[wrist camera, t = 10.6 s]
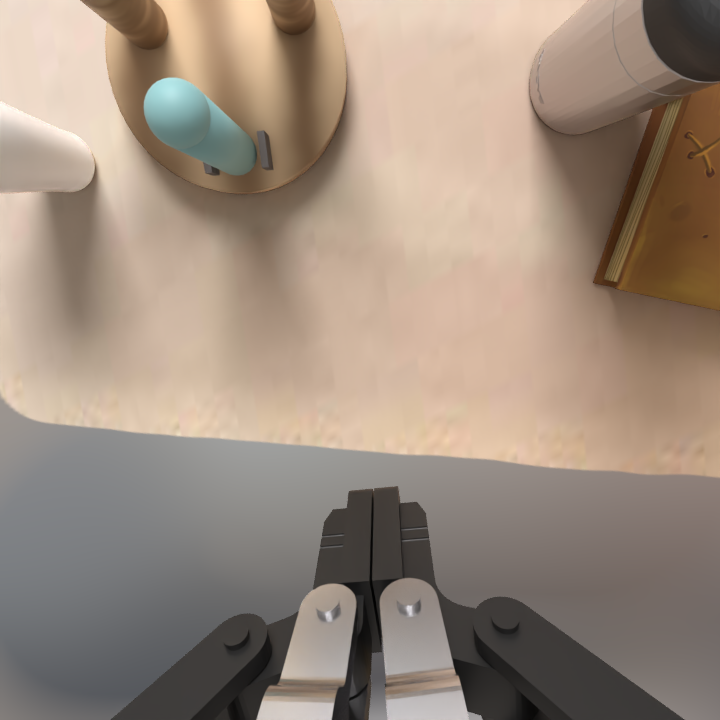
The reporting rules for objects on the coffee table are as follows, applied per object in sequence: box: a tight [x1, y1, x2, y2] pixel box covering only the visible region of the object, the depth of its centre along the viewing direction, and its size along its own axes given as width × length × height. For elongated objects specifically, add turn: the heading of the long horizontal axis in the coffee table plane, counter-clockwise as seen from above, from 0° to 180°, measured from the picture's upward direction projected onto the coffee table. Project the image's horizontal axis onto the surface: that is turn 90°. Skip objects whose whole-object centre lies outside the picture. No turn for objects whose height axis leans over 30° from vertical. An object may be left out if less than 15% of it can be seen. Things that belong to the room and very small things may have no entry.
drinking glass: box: [0, 101, 95, 194], centre depth 36 cm, size 7×7×15 cm
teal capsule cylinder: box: [144, 78, 257, 176], centre depth 33 cm, size 4×4×17 cm
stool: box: [81, 0, 347, 194], centre depth 32 cm, size 20×20×20 cm
